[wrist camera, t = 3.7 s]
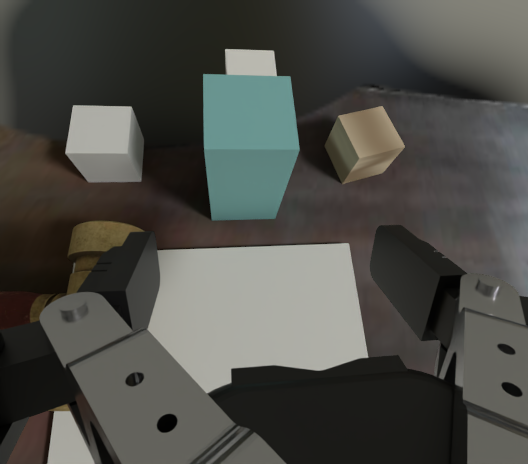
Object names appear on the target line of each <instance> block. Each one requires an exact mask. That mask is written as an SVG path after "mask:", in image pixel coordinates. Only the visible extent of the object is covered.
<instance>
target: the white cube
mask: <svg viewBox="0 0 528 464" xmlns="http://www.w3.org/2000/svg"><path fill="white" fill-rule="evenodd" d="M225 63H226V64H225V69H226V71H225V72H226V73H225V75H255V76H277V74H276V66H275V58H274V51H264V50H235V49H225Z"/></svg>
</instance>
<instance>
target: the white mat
mask: <svg viewBox="0 0 528 464" xmlns="http://www.w3.org/2000/svg"><path fill="white" fill-rule="evenodd" d="M157 252H158V260H159V268H160V287H159V291H158V295H157V298H156V302H155V305H154V309H153V312H152V316H151V319H150V323H149V326H148V329H147V330H148V331H149V332H150V333H151V334H152V335H153V336H154V337H155V338H156V339H157V340H158V341H159V342H160V344H161V345H162V346H163V347H164V348H165V349H166V350H167V351H168V352H169V353H170V354H171V355H172V357H173V358H174V359H175V360H176V361H177V362H178V363H179V364H180V365H181V366H182V367H183V368H184V369H185V371H186V372H187V373H188V374H189V375H190V376H191V377H192V378H193V379H194V380H195V381H196V382H197V383H198V385H199V386H200V387H201V388H202V389H203V390H204V391H205V392H206V393H209V392H210V391H212V390H214V389H216V388H219V387H221V386H223V385H226V384H229V383H231V369H232V368H244V367H257V366H270V365H277V366H285V367H293V368H300V369H308V370H317V371H320V370H325V369H328V368H331V367H334V366H337V365H340V364H343V363H347V362H350V361H353V360H356V359H359V358H368V354H367V348H366V342H365V336H364V330H363V325H362V319H361V313H360V307H359V301H358V295H357V289H356V283H355V278H354V272H353V266H352V260H351V254H350V248H349V243H343V244H316V245H289V246H262V247H234V248H207V249H180V250H157ZM74 269H75V263H74V265H73V273H74ZM47 464H95V463H94V461H93V458H92V456H91V454H90V452H89V450H88V448H87V446H86V444H85V441H84V439H83V437H82V435H81V433H80V431H79V429H78V427H77V425H76V422H75V420H74V418H73V416H72V414H71V412H70V411H54V417H53V425H52V432H51V440H50V448H49V455H48V463H47Z"/></svg>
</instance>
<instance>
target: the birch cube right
mask: <svg viewBox="0 0 528 464" xmlns="http://www.w3.org/2000/svg"><path fill="white" fill-rule="evenodd" d="M324 146H325V148H326V150H327V153H328V155H329V157H330V159H331V161H332V163H333V165H334V168H335V170H336V172H337V174H338V176H339V178H340V180H341V183H342V184H344V183H348V182H351V181H355V180H359V179H362V178H366V177H370V176H374V175H377V174H381V173H383V172H384V171H385V170H386V168H387V167H388V166H389V165H390V164H391V163H392V161H393V160H394V159H395V158H396V157H397V156H398V154H399V153H400V152H401V151H402V150H403V149H404V147H405V146H404V144H403V142H402V140H401V139H400V137H399V135H398V133H397V131H396V130H395V128H394V126H393V124H392V122H391V121H390V119H389V117H388V115H387V113H386V112H385V110H384V108H383V106H381V107H377V108H372V109H367V110H363V111H358V112H354V113H349V114H345V115H340V116H338V118H337V120H336V122H335V124H334V126H333V128H332V130H331V133H330V135H329V137H328V139H327V141H326V143H325V145H324Z"/></svg>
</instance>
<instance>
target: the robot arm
mask: <svg viewBox="0 0 528 464" xmlns="http://www.w3.org/2000/svg"><path fill="white" fill-rule="evenodd" d="M370 272H371V276H372V278H373V280H374V281H375V282H376V284H377V285H378V286H379V287H380V289H381V290H382V291H383V293H384V294H385V295H386V296H387V298H388V299H389V300H390V302H391V303H392V304H393V305H394V307H395V308H396V309H397V311H398V312H399V313H400V314H401V316H402V317H403V318H404V320H405V321H406V322H407V323H408V325H409V326H410V327H411V329H412V330H413V331H414V332H415V334H416V335H417V336H418V338H419V339H420V340H421V341H428V340H439V341H440V344H439V347H438V350H437V356H436V364H435V372H434V376H433V375H430V374H427V373H424V372H421V371H416V370H412V369H407V368H406V366H405V365H404V363H403V362H402V360H401V359H400V357H399V356H398V355H395V356H382V357H370V358H359V359H356V360H353V361H350V362H347V363H343V364H340V365H337V366H334V367H331V368H328V369H325V370H320V371H317V370H308V369H300V368H293V367H285V366H277V365H270V366H257V367H244V368H232V369H231V383H229V384H226V385H223V386H221V387H219V388H216V389H214V390H212V391H210V392H209V393H206V392H205V391H204V390H203V389H202V388H201V387H200V386H199V385H198V383H197V382H196V381H195V380H194V379H193V378H192V377H191V376H190V375H189V374H188V373H187V372H186V371H185V369H184V368H183V367H182V366H181V365H180V364H179V363H178V362H177V361H176V360H175V359H174V358H173V357H172V355H171V354H170V353H169V352H168V351H167V350H166V349H165V348H164V347H163V346H162V345H161V344H160V342H159V341H158V340H157V339H156V338H155V337H154V336H153V335H152V334H151V333H150V332H149V331H148V330H147V329H148V326H149V323H150V319H151V316H152V312H153V309H154V305H155V302H156V298H157V295H158V291H159V287H160V268H159V260H158V252H157V244H156V237H155V233H154V232H153V231H145V232H130V233H129V235H128V236H127V238H126V240H125V241H124V243H123V245H122V246H114V247H112V248H111V249H109V250H108V251H106V252H105V253H103V254H102V255H101V257H100V258H99V260H98V261H97V263H96V265H95V266H94V267H93V269H92V270H91V272H90V273H89V274H88V276H87V277H86V279H85V280H84V282H83V283H82V285H81V286H80V288H79V289H78V291H77V292H76V293H74V294H70V295H67V296H64V297H61V298H59V299H57V300H55V301H53V302H52V303H50V304H49V305H48V306H46V307H45V308H44V309H43V311H42V312H41V314H40V318H39V321H35V322H32V323H28V324H24V325H19V326H15V327H11V328H7V329H3V330H0V464H6V463H7V461H8V459H9V457H10V455H11V453H12V451H13V449H14V447H15V445H16V443H17V441H18V439H19V437H20V435H21V433H22V431H23V429H24V427H25V425H26V423H27V421H28V419H29V417H31V416H34V415H37V414H39V413H42V412H45V411H48V410H51V409H54V408H57V407H60V406H63V405H66V404H67V405H68V408H69V410H70V412H71V414H72V416H73V418H74V420H75V422H76V425H77V427H78V429H79V431H80V433H81V435H82V437H83V439H84V441H85V444H86V446H87V448H88V450H89V452H90V454H91V456H92V458H93V461H94V463H95V464H528V297H523V296H519V294H518V292H517V290H516V289H515V288H514V287H513V286H511V285H510V284H508V283H507V282H505V281H503V280H500V279H498V278H495V277H492V276H489V275H484V274H477V273H470V274H467V273H466V272H465V271H463V270H462V269H461V268H460V267H458V266H457V265H456V264H454V263H453V262H452V261H451V260H449V259H448V258H445V256H444V255H443V254H442V253H440V252H438V250H436V249H435V248H434V247H432V246H431V245H430V244H429V243H427V242H424V241H422V240H420V239H418V238H417V237H416V236H414V235H413V234H412V233H411V232H409V231H408V230H407V229H406V228H404V227H403V226H402V225H381V226H379V227H378V228H377V230H376V234H375V239H374V245H373V250H372V256H371V261H370Z"/></svg>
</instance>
